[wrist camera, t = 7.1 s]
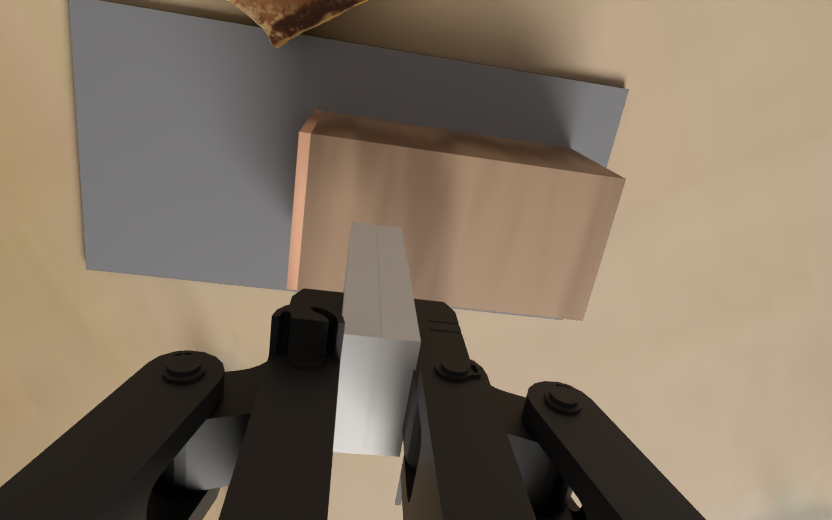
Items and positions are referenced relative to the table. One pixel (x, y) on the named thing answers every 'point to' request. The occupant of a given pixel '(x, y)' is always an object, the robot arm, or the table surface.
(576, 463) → the robot arm
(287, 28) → the shard
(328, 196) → the light brown wooden block
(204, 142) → the grey mat
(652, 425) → the table surface
